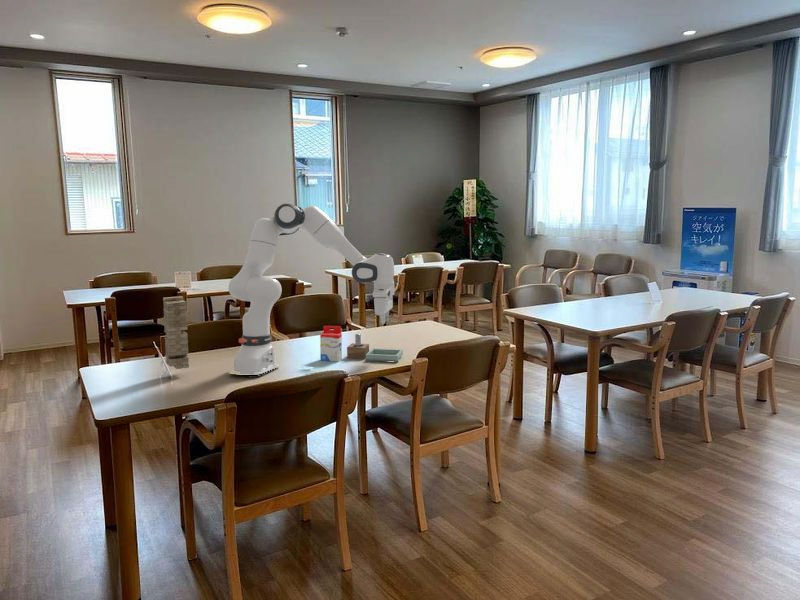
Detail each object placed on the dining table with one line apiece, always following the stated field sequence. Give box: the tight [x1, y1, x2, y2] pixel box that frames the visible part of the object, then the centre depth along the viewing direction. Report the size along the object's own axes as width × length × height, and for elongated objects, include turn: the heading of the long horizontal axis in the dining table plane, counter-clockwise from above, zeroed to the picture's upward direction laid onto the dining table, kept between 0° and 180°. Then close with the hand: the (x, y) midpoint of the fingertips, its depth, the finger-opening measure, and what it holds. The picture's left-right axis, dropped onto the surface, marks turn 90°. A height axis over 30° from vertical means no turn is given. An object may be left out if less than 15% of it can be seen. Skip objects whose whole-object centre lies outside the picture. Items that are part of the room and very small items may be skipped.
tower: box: [162, 295, 190, 370], centre depth 250 cm, size 8×8×29 cm
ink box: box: [319, 325, 343, 362], centre depth 263 cm, size 8×5×15 cm, turn 79°
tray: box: [365, 348, 404, 363], centre depth 265 cm, size 12×14×3 cm
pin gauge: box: [354, 333, 362, 347], centre depth 269 cm, size 2×2×10 cm
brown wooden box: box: [346, 343, 370, 360], centre depth 269 cm, size 8×8×5 cm
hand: (384, 322), depth 263 cm, fingers open, 4 cm apart
